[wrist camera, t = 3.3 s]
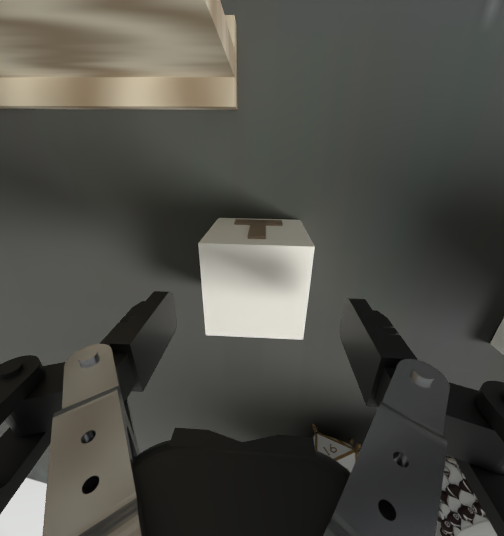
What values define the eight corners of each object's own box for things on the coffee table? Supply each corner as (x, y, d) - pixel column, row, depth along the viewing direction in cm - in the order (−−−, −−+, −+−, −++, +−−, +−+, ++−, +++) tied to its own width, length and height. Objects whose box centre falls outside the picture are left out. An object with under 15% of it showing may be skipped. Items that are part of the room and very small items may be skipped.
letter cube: (293, 290, 20) (303, 339, 15) (221, 288, 21) (205, 335, 15) (300, 217, 18) (314, 243, 12) (218, 215, 18) (198, 240, 13)
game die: (305, 412, 32) (256, 486, 25) (346, 395, 26) (297, 487, 19) (359, 475, 29) (321, 576, 23) (418, 472, 23) (391, 608, 17)
